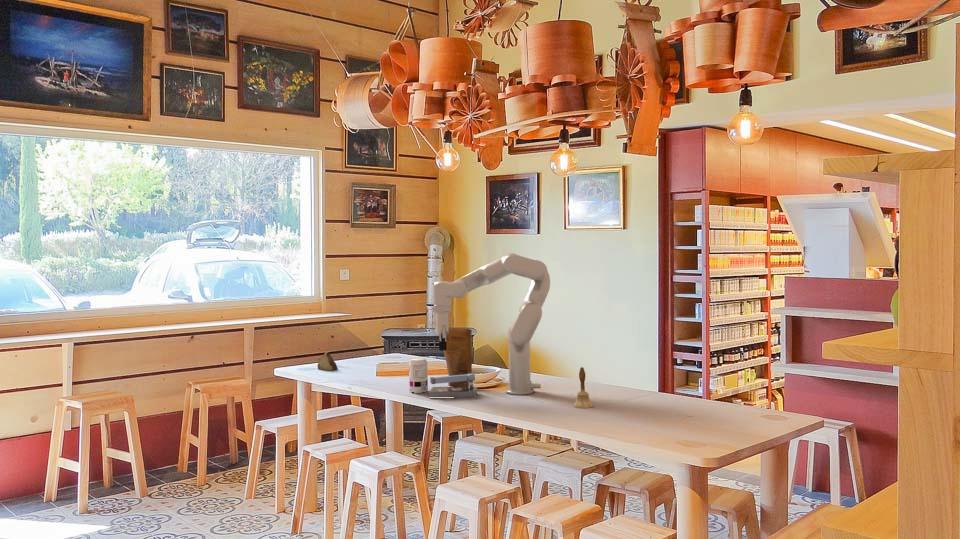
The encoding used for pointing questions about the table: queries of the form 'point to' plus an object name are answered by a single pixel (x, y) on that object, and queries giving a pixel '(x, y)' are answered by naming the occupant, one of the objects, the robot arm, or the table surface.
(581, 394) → the hand bell
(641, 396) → the table surface
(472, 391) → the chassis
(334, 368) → the rock
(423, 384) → the supplement can
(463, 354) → the pancake mix bag
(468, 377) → the bar
